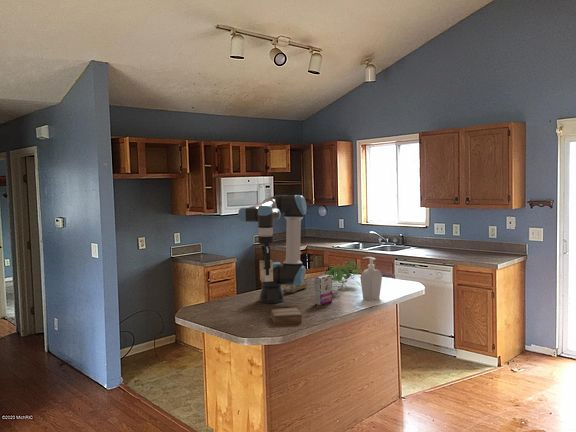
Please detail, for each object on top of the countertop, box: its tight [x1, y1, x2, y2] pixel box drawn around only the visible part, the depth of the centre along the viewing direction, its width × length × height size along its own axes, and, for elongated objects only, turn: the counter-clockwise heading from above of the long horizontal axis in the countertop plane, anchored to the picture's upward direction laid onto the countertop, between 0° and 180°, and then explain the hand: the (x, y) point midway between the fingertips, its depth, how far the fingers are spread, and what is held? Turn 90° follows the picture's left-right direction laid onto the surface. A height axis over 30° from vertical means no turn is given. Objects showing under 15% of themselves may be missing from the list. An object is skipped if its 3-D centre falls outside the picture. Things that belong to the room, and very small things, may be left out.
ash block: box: [259, 259, 274, 283], centre depth 264 cm, size 6×6×10 cm
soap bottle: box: [359, 256, 383, 301], centre depth 314 cm, size 12×10×26 cm
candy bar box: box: [314, 274, 333, 306], centre depth 304 cm, size 11×5×16 cm, turn 137°
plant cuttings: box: [324, 260, 361, 290], centre depth 340 cm, size 35×17×22 cm
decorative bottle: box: [282, 278, 308, 294], centre depth 337 cm, size 26×8×7 cm, turn 149°
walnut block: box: [270, 307, 303, 326], centre depth 270 cm, size 14×14×5 cm
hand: (266, 279), depth 264 cm, fingers closed on ash block, 6 cm apart
